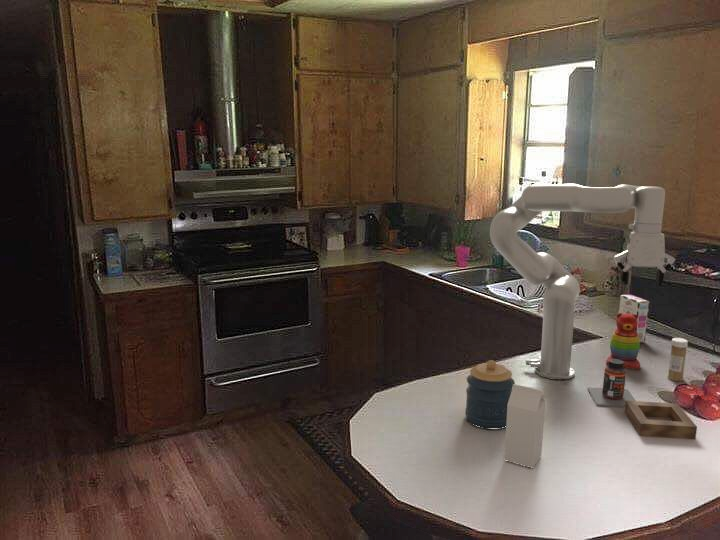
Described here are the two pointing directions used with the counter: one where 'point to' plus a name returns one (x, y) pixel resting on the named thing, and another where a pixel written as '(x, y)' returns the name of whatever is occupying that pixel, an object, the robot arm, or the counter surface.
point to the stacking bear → (625, 341)
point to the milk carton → (524, 425)
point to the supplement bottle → (614, 380)
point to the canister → (488, 395)
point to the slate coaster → (604, 401)
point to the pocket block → (673, 429)
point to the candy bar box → (636, 312)
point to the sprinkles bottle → (677, 359)
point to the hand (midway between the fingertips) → (641, 284)
